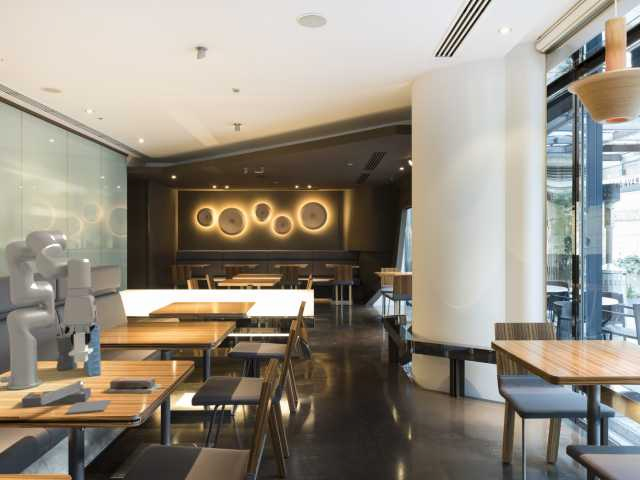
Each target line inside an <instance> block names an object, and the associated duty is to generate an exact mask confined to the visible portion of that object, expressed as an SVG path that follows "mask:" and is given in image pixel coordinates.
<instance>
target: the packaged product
mask: <svg viewBox="0 0 640 480" xmlns="http://www.w3.org/2000/svg"><path fill="white" fill-rule="evenodd" d="M156 380H157V379H156V378H155V377H116V378H114V379H112V380H111V381H110V382H109V385H110V386H109V389H107V393H108V394H152V393H154V392H155V391H157V390H158V389H159V388H161V387H162V383H156Z"/></svg>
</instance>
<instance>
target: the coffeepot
mask: <svg viewBox="0 0 640 480" xmlns="http://www.w3.org/2000/svg"><path fill="white" fill-rule="evenodd" d="M63 330H64V333H57V334H56V336H55V340H56V347H57V351H58V356H57V363H56V370H57V371H62V372H63V371H70V370H75V369H77V368H78V362H77V363H74V355H73V356H69V352H71V351H72V350H74V346H73V345H72V343H71V334H69V332H68V331H66V330H65V329H63Z"/></svg>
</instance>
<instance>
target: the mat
mask: <svg viewBox="0 0 640 480" xmlns="http://www.w3.org/2000/svg"><path fill="white" fill-rule="evenodd" d="M111 402H112V401H111V399H105V400H104V399H103V400H93V401H91V400H90V401H86V402H78V403H72V405H71V407H70V408H68V409H67V410H66V412H65V415H76V413H78V414H87V413H88V412H90V413H101V412H104V411H105V410H106V409H107V408H108V406H109V405H110V403H111Z"/></svg>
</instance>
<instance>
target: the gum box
mask: <svg viewBox="0 0 640 480" xmlns="http://www.w3.org/2000/svg"><path fill="white" fill-rule="evenodd" d="M94 324H95V322H94V323H92V324H91V326H92V325H94ZM81 326H82V333H86V327H85V325H81ZM100 332H101V331H100V325H98V326H97V327H95V328H94V329H93V330H92V332H91V342H89V344H88V348H93V351H92V352H91V353H90V354H88V360H87V361H86V362H83V370H84V371H85V373H87V375H88V376H89V377H95V376H96V377H97V376H101V375H102V368H101V367H102V366H101V362H102V361H101V339H100Z"/></svg>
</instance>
